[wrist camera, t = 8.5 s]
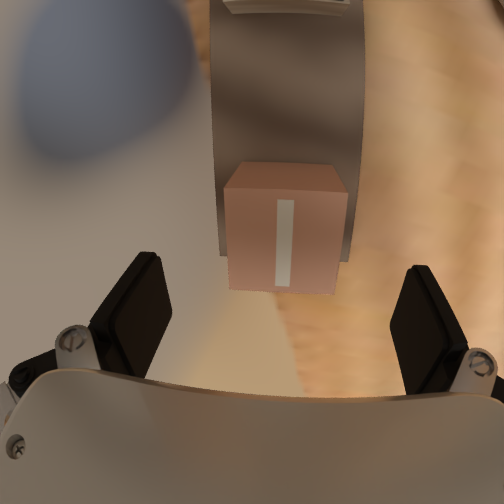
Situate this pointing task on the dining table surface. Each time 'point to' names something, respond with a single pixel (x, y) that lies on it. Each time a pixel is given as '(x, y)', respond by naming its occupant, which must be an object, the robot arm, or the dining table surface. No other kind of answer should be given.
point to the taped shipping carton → (284, 227)
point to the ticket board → (287, 90)
